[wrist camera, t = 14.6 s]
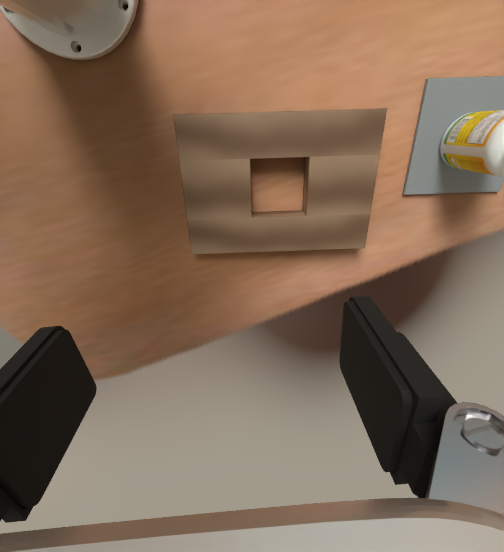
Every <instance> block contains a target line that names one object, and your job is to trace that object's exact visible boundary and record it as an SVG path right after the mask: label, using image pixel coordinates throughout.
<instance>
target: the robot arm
mask: <svg viewBox="0 0 504 552" xmlns="http://www.w3.org/2000/svg"><path fill="white" fill-rule="evenodd" d="M138 2H139V0H0V10H1V11H2V13H3V14H4V16H5V17H6V18H7V19H8V20H9V21H10V23H11V24H12V25H13V26H14V27H15V28H16V29H17V30H18V31H19V32H20V33H21V34H23V35H24V36H25V37H26V38H28V39H29V40H30V41H31V42H33V43H34V44H36V45H38V46H39V47H41V48H43V49H45V50H46V51H48V52H51V53H53V54H56V55H58V56H61V57H65V58H69V59H73V60H90V59H95V58H99V57H101V56H103V55H105V54H107V53H109V52H111V51H112V50H113V49H115V48H116V47H117V46H118V45H119V44H120V43H121V42H122V41H123V39H124V38H125V36H126V35H127V34H128V32H129V30H130V28H131V26H132V23H133V21H134V19H135V15H136V11H137V7H138ZM125 5H128V9H127V10H126V11H125V10H124V6H125ZM80 46H81V51H80V52H79V47H80ZM341 337H342V338H341V349H340V368H341V371H342V374H343V376H344V378H345V381H346V383H347V386H348V388H349V390H350V393H351V395H352V397H353V400H354V402H355V405H356V407H357V410H358V412H359V414H360V417H361V419H362V422H363V424H364V426H365V429H366V431H367V433H368V436H369V438H370V440H371V443H372V446H373V448H374V450H375V453H376V455H377V458H378V460H379V462H380V465H381V467H382V468H383V470H384V471H385V472H390V474H391V476H392V478H393V480H394V483H395V485H397V484H407V483H408V484H409V486H410V488H411V490H412V492H413V494H415V495H417V496H418V497H417V498H391V499H390V498H388V499H369V500H355V501H341V502H327V503H314V504H303V505H292V506H281V507H270V508H259V509H248V510H237V511H227V512H215V513H205V514H194V515H184V516H173V517H163V518H152V519H143V520H133V521H122V522H112V523H101V524H92V525H81V526H72V527H61V528H52V529H43V530H33V531H23V532H13V533H3V534H0V552H504V416H503V415H502V414H500V413H498V412H497V411H495V410H492V409H490V408H488V407H486V406H483V405H479V404H476V403H468V402H462V403H457V402H456V401H455V399H454V398H453V397H452V396H451V394H450V393H449V392H448V391H447V389H446V388H445V387H444V385H443V384H442V383H441V382H440V380H439V379H438V378H437V377H436V375H435V374H434V373H433V372H432V370H431V369H430V368H429V366H428V365H427V364H426V362H425V361H424V360H423V359H422V357H421V356H420V355H419V354H418V352H417V351H416V350H415V348H414V347H413V346H412V345H411V344H410V342H409V341H408V340H407V338H406V337H405V336H404V335H403V334H402V333H400V332H396V331H395V330H394V328H393V327H392V325H391V324H390V323H389V322H388V320H387V319H386V318H385V316H384V315H383V314H382V312H381V311H380V310H379V308H378V307H377V306H376V304H375V303H374V302H373V300H372V299H371V298H370V297H369V296H358V297H357V296H356V297H351V298H350V299H349V302H345V303H344V309H343V323H342V336H341ZM95 394H96V384H95V382H94V380H93V378H92V376H91V374H90V372H89V370H88V368H87V366H86V364H85V362H84V360H83V358H82V356H81V354H80V352H79V350H78V348H77V346H76V344H75V342H74V340H73V338H72V336H71V334H70V332H69V331H68V330H65V329H64V328H63V327H62V326H53V327H43V328H40V329H39V330H38V331H37V332H36V333H35V334H34V335H33V336H32V337H31V338H30V339H29V340H28V341H27V342H26V343H25V344H24V345H23V346H22V347H21V348H20V349H19V350H18V351H17V352H16V353H15V354H14V356H13V357H12V358H11V359H10V360H9V361H8V362H7V363H6V364H5V365H4V366H3V367H2V368H1V369H0V521H1V519H3V520H4V521H5V522H16V521H25V520H26V519H27V517H28V515H29V514H30V512H31V510H32V508H33V506H35V505H37V504H38V502H39V501H40V500H41V498H42V496H43V494H44V492H45V491H46V488H47V486H48V485H49V483H50V481H51V479H52V477H53V475H54V473H55V471H56V469H57V468H58V465H59V463H60V462H61V460H62V458H63V456H64V454H65V452H66V450H67V448H68V446H69V444H70V443H71V441H72V439H73V437H74V435H75V433H76V431H77V429H78V427H79V425H80V423H81V421H82V419H83V418H84V416H85V414H86V412H87V410H88V408H89V406H90V404H91V402H92V400H93V399H94V397H95Z"/></svg>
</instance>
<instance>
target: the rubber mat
mask: <svg viewBox="0 0 504 552" xmlns="http://www.w3.org/2000/svg"><path fill="white" fill-rule="evenodd" d="M496 110H504V76H496V77H462V78H428V79H426V82H425V87H424V92H423V97H422V102H421V106H420V111H419V116H418V121H417V126H416V131H415V136H414V141H413V146H412V150H411V155H410V160H409V165H408V170H407V175H406V180H405V185H404V190H403V194H404V195H410V194H439V193H468V192H498V191H500V190H501V187H502V184H503V181H504V177H500V176H494V175H490V174H484V173H479V172H474V171H469V170H463V169H458V168H453V167H451V166H449V165H448V164H447V163H446V162H445V161H444V160H443V158H442V156H441V152H440V145H441V141H442V138H443V135H444V133H445V131H446V130H447V128H448V127H449V126H450V125H451V124H452V123H453V122H454V121H455V120H456V119H458V118H459V117H461V116H463V115H465V114H468V113H471V112H479V111H496Z"/></svg>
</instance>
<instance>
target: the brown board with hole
mask: <svg viewBox="0 0 504 552" xmlns="http://www.w3.org/2000/svg"><path fill="white" fill-rule="evenodd" d="M386 112H387V108H380V109H348V110H316V111H283V112H251V113H218V114H186V115H173V116H174V124H175V131H176V139H177V146H178V154H179V161H180V169H181V176H182V184H183V191H184V199H185V207H186V214H187V222H188V229H189V237H190V244H191V252H192V254H214V253H241V252H269V251H296V250H324V249H352V248H365V243H366V237H367V231H368V225H369V218H370V212H371V206H372V200H373V193H374V187H375V181H376V175H377V168H378V162H379V156H380V150H381V143H382V137H383V131H384V124H385V118H386ZM288 157H305V168H304V187H303V207H302V210H300V211H271V212H251V179H250V159H257V158H288Z"/></svg>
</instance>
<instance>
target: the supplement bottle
mask: <svg viewBox="0 0 504 552" xmlns="http://www.w3.org/2000/svg"><path fill="white" fill-rule="evenodd" d="M440 152H441V156H442V158H443V160H444V161H445V162H446V163H447V164H448V165H449V166H451V167H453V168H458V169H463V170H469V171H474V172H479V173H484V174H490V175H494V176H500V177H504V110H496V111H479V112H471V113H468V114H465V115H463V116H461V117H459V118H458V119H456V120H455V121H454V122H453V123H452V124H451V125H450V126H449V127H448V128H447V130H446V131H445V133H444V135H443V138H442V141H441V145H440Z"/></svg>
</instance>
